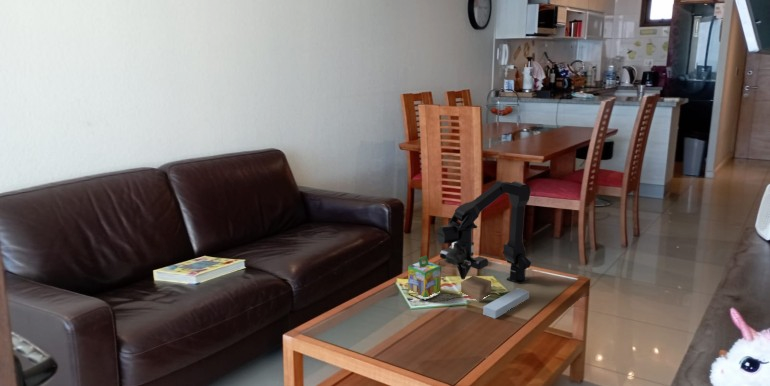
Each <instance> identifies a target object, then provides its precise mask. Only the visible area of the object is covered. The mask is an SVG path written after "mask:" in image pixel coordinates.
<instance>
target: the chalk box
mask: <svg viewBox="0 0 770 386" xmlns="http://www.w3.org/2000/svg"><path fill="white" fill-rule="evenodd" d="M428 259H429V258H428V256H427V255H424V256H421V257H419V258H418V262H416V263H415V262H414V263H413V264H410V265H408V266H407V267H408V269H407V271H408V272H407V274H408V275H407V277H408V278H407V280H408V281H407V282H408V283H407V287H408V289H407V290H411V291H413V292H415V293H417V294H419V295H421V296H423V297H428V296H430V295H432V294H434V293H437V292H439V291H441V287H442V286H441V284H442V283H441V282H442V281H441V280H442V266H440V265H437V264H436V263H434V262H429V260H428Z"/></svg>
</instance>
